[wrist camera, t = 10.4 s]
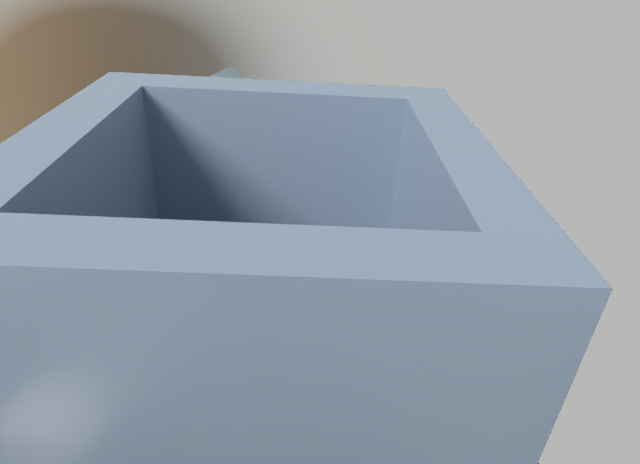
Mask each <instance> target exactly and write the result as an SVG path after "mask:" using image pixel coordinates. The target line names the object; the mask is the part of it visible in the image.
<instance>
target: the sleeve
mask: <svg viewBox="0 0 640 464" xmlns="http://www.w3.org/2000/svg"><path fill="white" fill-rule="evenodd" d="M611 291H612V287H611V286H610V285H609V284H608V282H607V281H606V280H605V279H604V278H603V276H602V275H601V274H600V273H599V272H598V271H597V269H596V268H595V267H594V266H593V265H592V264H591V262H590V261H589V260H588V259H587V258H586V256H585V255H584V254H583V253H582V252H581V250H580V249H579V248H578V247H577V246H576V245H575V243H574V242H573V241H572V240H571V239H570V237H569V236H568V235H567V234H566V233H565V231H564V230H563V229H562V228H561V227H560V226H559V224H558V223H557V222H556V221H555V220H554V218H553V217H552V216H551V215H550V214H549V212H548V211H547V210H546V209H545V208H544V207H543V205H542V204H541V203H540V202H539V201H538V199H537V198H536V197H535V196H534V195H533V193H532V192H531V191H530V190H529V189H528V187H527V186H526V185H525V184H524V183H523V182H522V180H521V179H520V178H519V177H518V176H517V174H516V173H515V172H514V171H513V170H512V168H511V167H510V166H509V165H508V164H507V163H506V161H505V160H504V159H503V158H502V157H501V156H500V154H499V153H498V152H497V151H496V150H495V148H494V147H493V146H492V145H491V144H490V143H489V141H488V140H487V139H486V138H485V137H484V135H483V134H482V133H481V132H480V131H479V129H478V128H477V127H476V126H475V125H474V123H473V122H472V121H471V120H470V119H469V117H468V116H467V115H466V114H465V113H464V112H463V110H462V109H461V108H460V107H459V106H458V104H457V103H456V102H455V101H454V100H453V99H452V97H451V96H450V95H449V94H448V93H447V91H446V90H445V89H439V88H419V87H398V86H380V85H360V84H359V85H358V84H339V83H320V82H318V83H317V82H299V81H298V82H297V81H280V80H260V79H240V78H220V77H199V76H180V75H160V74H141V73H121V72H109V73H107V74H106V75H104V76H103V77H102V78H100V79H98V80H97V81H95V82H94V83H92V84H91V85H89V86H88V87H86V88H85V89H83V90H81V91H80V92H78V93H77V94H75V95H74V96H72V97H71V98H69V99H68V100H66V101H65V102H63V103H62V104H60V105H59V106H57V107H56V108H54V109H53V110H51V111H50V112H48V113H46V114H45V115H43V116H42V117H40V118H39V119H38V120H36V121H34V122H33V123H32V124H30V125H28V126H27V127H25V128H24V129H22V130H21V131H19V132H18V133H16V134H15V135H13V136H12V137H10V138H9V139H7V140H5V141H4V142H2V143H1V144H0V464H537V463H538V461H539V458H540V456H541V454H542V452H543V449H544V447H545V445H546V442H547V440H548V438H549V435H550V433H551V431H552V428H553V426H554V424H555V421H556V419H557V417H558V414H559V412H560V410H561V407H562V405H563V403H564V400H565V398H566V396H567V394H568V391H569V389H570V387H571V384H572V382H573V379H574V377H575V375H576V372H577V370H578V368H579V365H580V363H581V361H582V359H583V356H584V354H585V352H586V349H587V347H588V345H589V342H590V340H591V338H592V336H593V333H594V331H595V328H596V326H597V324H598V322H599V319H600V317H601V314H602V312H603V310H604V308H605V305H606V303H607V301H608V298H609V296H610V294H611Z"/></svg>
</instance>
